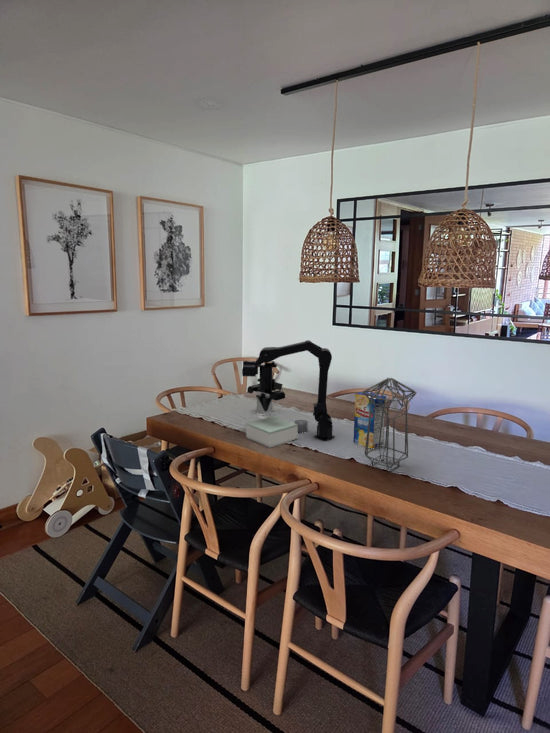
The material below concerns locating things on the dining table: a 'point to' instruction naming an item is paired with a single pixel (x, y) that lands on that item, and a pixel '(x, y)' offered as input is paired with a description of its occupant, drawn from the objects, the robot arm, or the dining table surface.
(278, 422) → the lid
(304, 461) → the dining table surface
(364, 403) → the beverage box
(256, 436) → the box
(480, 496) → the dining table surface
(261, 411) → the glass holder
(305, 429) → the gray rounded pebble
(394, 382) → the geometric lantern
